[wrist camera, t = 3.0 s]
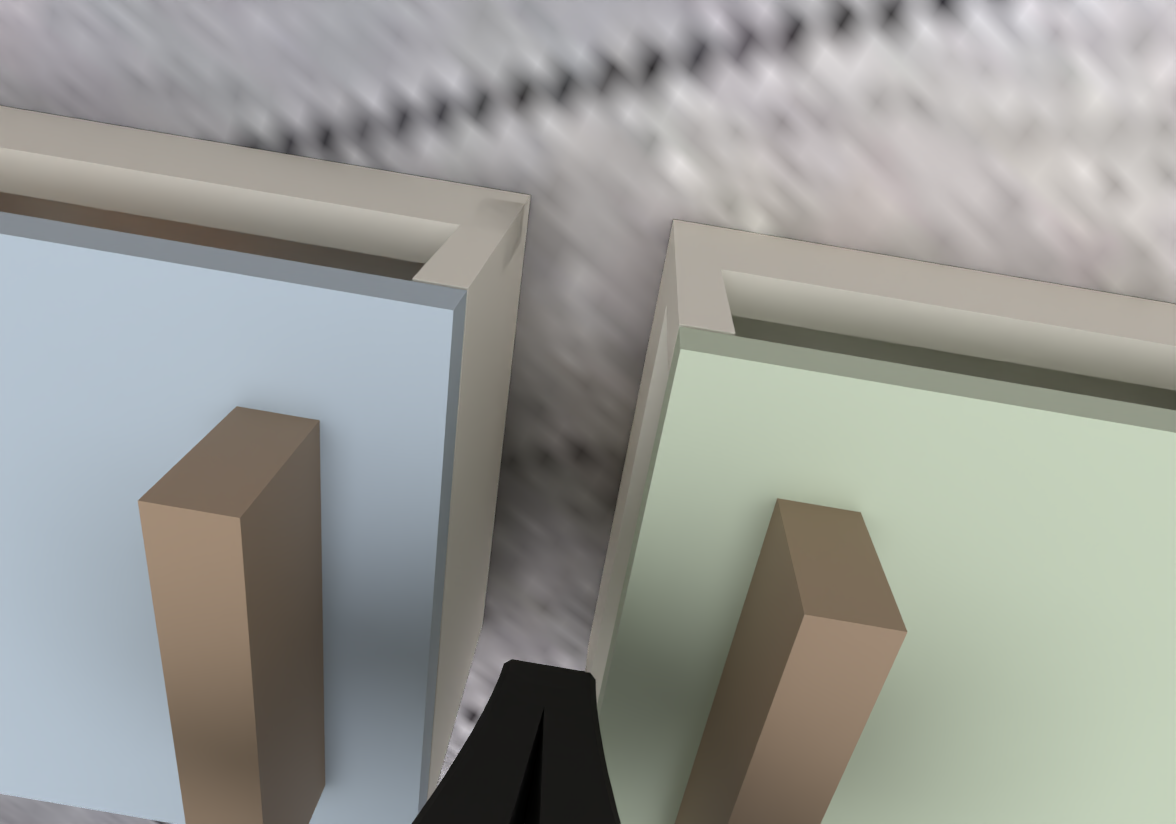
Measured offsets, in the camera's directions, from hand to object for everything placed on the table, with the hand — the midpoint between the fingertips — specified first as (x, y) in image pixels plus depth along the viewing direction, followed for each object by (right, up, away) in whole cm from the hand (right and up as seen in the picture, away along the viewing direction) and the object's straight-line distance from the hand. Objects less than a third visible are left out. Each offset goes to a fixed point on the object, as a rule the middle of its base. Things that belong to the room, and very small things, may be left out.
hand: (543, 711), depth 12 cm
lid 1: (-8, +2, +1) cm, 8 cm away
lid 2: (+7, 0, +1) cm, 7 cm away
